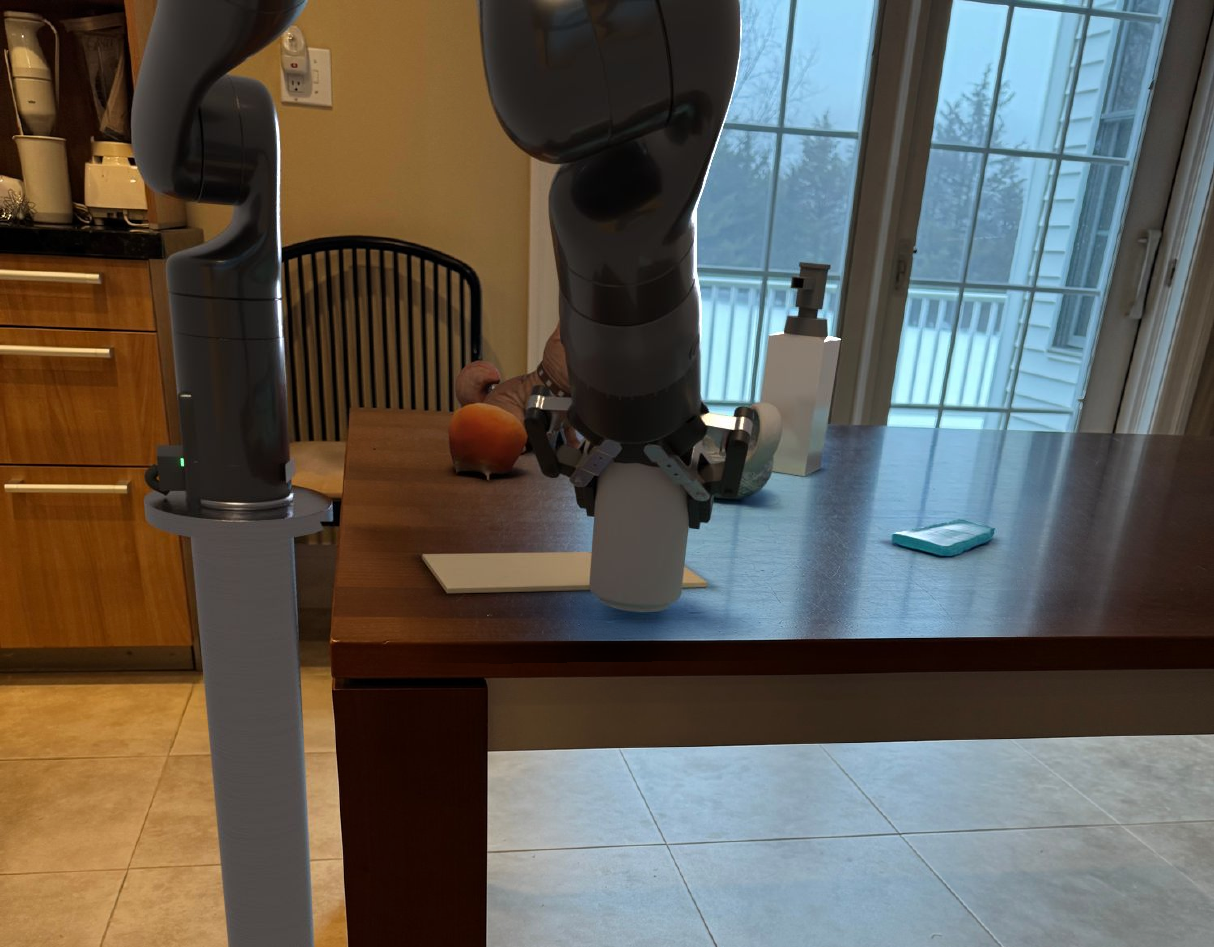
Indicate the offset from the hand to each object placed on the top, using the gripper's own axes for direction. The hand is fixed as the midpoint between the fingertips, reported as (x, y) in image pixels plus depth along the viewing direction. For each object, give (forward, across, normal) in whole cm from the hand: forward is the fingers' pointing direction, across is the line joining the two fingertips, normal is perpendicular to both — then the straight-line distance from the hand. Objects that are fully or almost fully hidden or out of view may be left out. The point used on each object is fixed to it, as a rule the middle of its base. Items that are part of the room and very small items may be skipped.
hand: (645, 511), depth 77 cm
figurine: (+44, +22, -35) cm, 61 cm away
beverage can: (+3, 0, +5) cm, 6 cm away
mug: (+34, -3, -24) cm, 42 cm away
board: (+9, +7, 0) cm, 11 cm away
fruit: (+33, +23, -23) cm, 46 cm away
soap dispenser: (+48, -7, -39) cm, 62 cm away
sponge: (+28, -24, -18) cm, 41 cm away
